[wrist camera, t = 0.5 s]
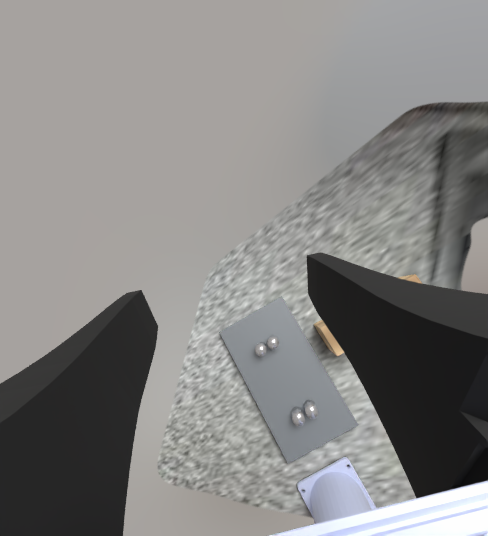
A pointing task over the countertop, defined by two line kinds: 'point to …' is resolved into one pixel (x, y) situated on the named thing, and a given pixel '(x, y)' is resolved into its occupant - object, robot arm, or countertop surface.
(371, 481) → the countertop surface
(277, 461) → the countertop surface
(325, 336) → the board
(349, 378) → the countertop surface
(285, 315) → the flat gray rectangular plate
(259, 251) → the countertop surface
